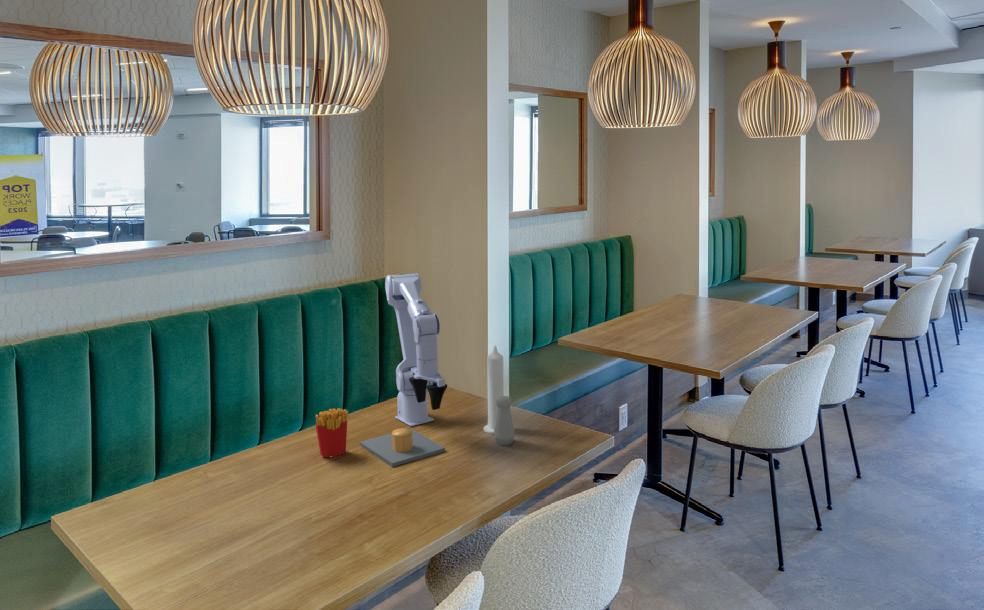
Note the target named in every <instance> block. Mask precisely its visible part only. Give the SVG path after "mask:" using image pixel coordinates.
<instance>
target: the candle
mask: <svg viewBox="0 0 984 610" xmlns="http://www.w3.org/2000/svg"><path fill="white" fill-rule="evenodd" d="M492 349H493V350H492V352H491V353H490V354H489V355H487V356H486V359H487V360H486V361H487V362H486V363H487V369H486V370H487V372H486V373H487V377H486V378H487V424H486V425H484V426H483V431H484V432H485V433H487V434H490V435H494V430H495V424H496V418H497V412H498V406H497V405H496V399H497V398H498V397H500V396H505V395H504V384H505V383H504V356H503V355H502V354H500V352H498V348H497V345H495V344H494V345H493V348H492Z"/></svg>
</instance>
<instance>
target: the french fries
mask: <svg viewBox="0 0 984 610" xmlns="http://www.w3.org/2000/svg"><path fill="white" fill-rule="evenodd" d="M318 414H319V415H318ZM318 414H315V420H316V423H315V424H314V425H315V430H316V437H317V441H318V448H319V453H320V456H321V455H322V456H323V457H330V456H335V457H337V456H336V455H340V456H342V455H341V454H343V453H345V452H347V451H346V450H347V436H348V435H347V434H348V416H349V411H348V410H347V409H346V408H345V409H343V408H339V407H338V408H337V409H336V407H335V408H329V409H328V410H324V411H320V412H319V413H318ZM345 454H346V453H345ZM343 455H344V454H343ZM322 456H321V457H322ZM330 458H331V457H330Z"/></svg>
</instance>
